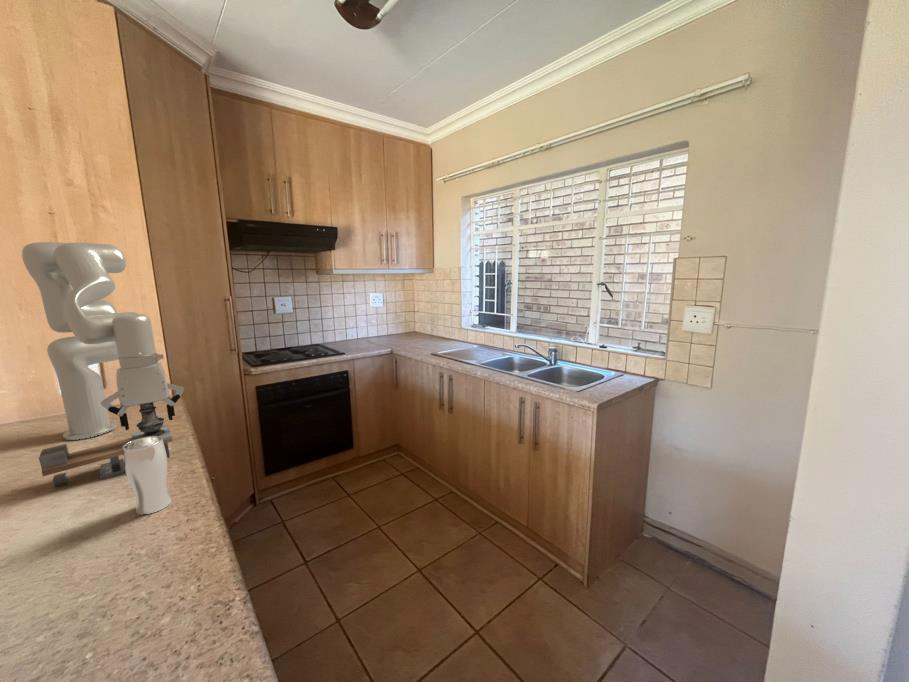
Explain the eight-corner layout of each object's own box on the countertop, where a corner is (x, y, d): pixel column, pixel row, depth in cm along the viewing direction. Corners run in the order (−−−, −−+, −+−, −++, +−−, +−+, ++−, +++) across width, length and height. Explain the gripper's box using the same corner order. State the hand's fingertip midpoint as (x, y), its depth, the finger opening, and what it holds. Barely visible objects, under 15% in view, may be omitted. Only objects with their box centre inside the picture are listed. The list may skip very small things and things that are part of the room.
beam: (47, 462, 91) (43, 446, 90) (168, 431, 106) (166, 417, 106) (42, 478, 83) (37, 461, 83) (172, 442, 99) (170, 427, 98)
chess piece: (151, 439, 97) (142, 396, 94) (133, 438, 98) (123, 396, 95) (172, 430, 102) (163, 389, 100) (154, 429, 103) (145, 388, 101)
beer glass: (128, 520, 76) (115, 453, 73) (138, 502, 82) (126, 439, 79) (170, 510, 79) (159, 445, 76) (176, 493, 85) (166, 432, 82)
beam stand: (57, 479, 91) (53, 462, 91) (167, 450, 106) (165, 435, 105) (53, 493, 86) (49, 474, 85) (170, 460, 100) (168, 444, 99)
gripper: (177, 354, 105) (186, 411, 108) (93, 364, 93) (106, 428, 96) (181, 358, 99) (190, 418, 102) (92, 370, 88) (105, 437, 91)
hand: (149, 423), depth 99 cm, fingers open, 8 cm apart
